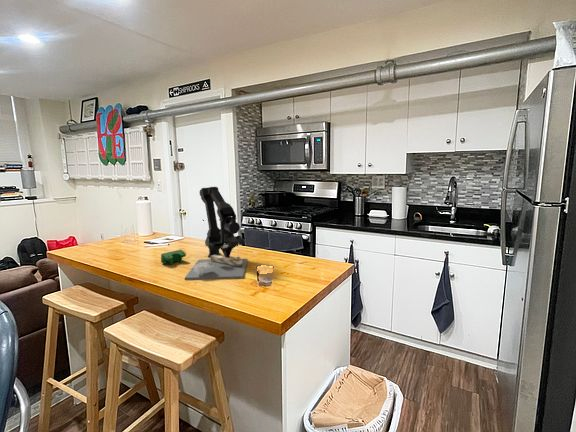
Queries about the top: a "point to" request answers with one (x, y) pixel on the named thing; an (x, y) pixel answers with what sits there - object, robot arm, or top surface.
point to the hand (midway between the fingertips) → (227, 259)
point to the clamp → (172, 257)
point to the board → (219, 271)
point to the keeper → (200, 266)
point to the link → (227, 260)
